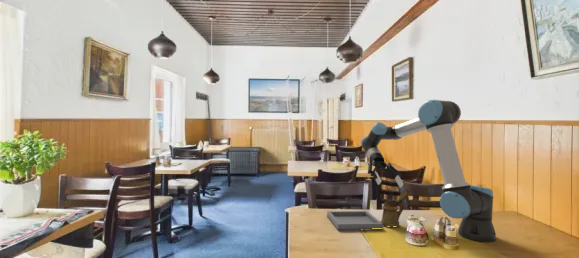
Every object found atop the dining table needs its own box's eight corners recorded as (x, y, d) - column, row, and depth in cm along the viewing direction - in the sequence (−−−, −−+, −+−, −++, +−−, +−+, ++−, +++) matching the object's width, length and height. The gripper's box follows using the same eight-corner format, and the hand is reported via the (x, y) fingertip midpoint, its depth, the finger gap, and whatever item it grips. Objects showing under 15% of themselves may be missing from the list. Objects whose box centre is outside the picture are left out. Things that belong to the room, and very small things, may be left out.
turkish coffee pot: (411, 228, 159) (412, 191, 159) (383, 227, 159) (385, 191, 158) (404, 222, 168) (405, 187, 168) (378, 222, 168) (379, 187, 167)
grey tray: (382, 230, 155) (382, 223, 155) (337, 230, 153) (338, 224, 153) (366, 216, 177) (366, 210, 177) (327, 216, 175) (327, 211, 175)
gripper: (390, 164, 190) (407, 191, 173) (353, 159, 182) (367, 186, 165) (397, 155, 186) (414, 181, 169) (359, 149, 178) (373, 176, 161)
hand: (391, 184), depth 167 cm, fingers open, 13 cm apart
